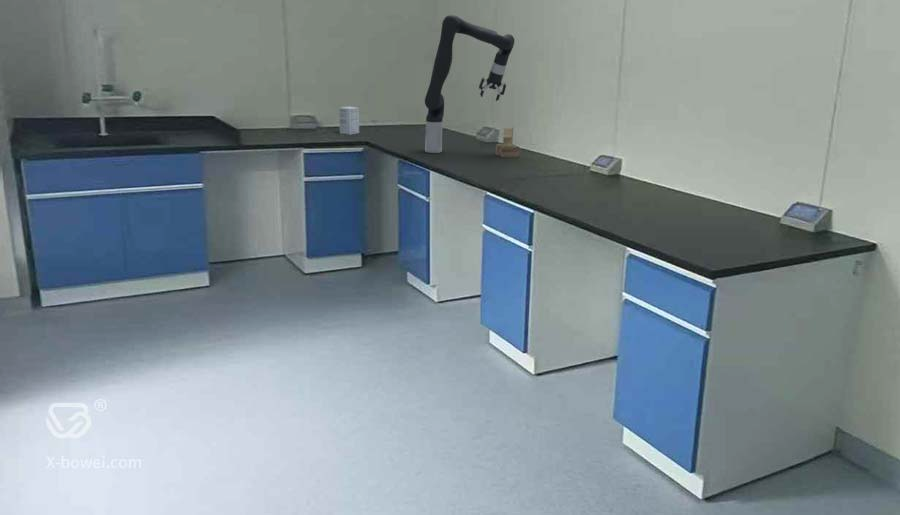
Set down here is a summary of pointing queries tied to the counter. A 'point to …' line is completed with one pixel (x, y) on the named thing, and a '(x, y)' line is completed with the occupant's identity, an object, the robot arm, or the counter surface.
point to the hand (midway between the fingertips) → (488, 98)
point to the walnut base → (507, 150)
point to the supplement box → (349, 120)
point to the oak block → (508, 136)
